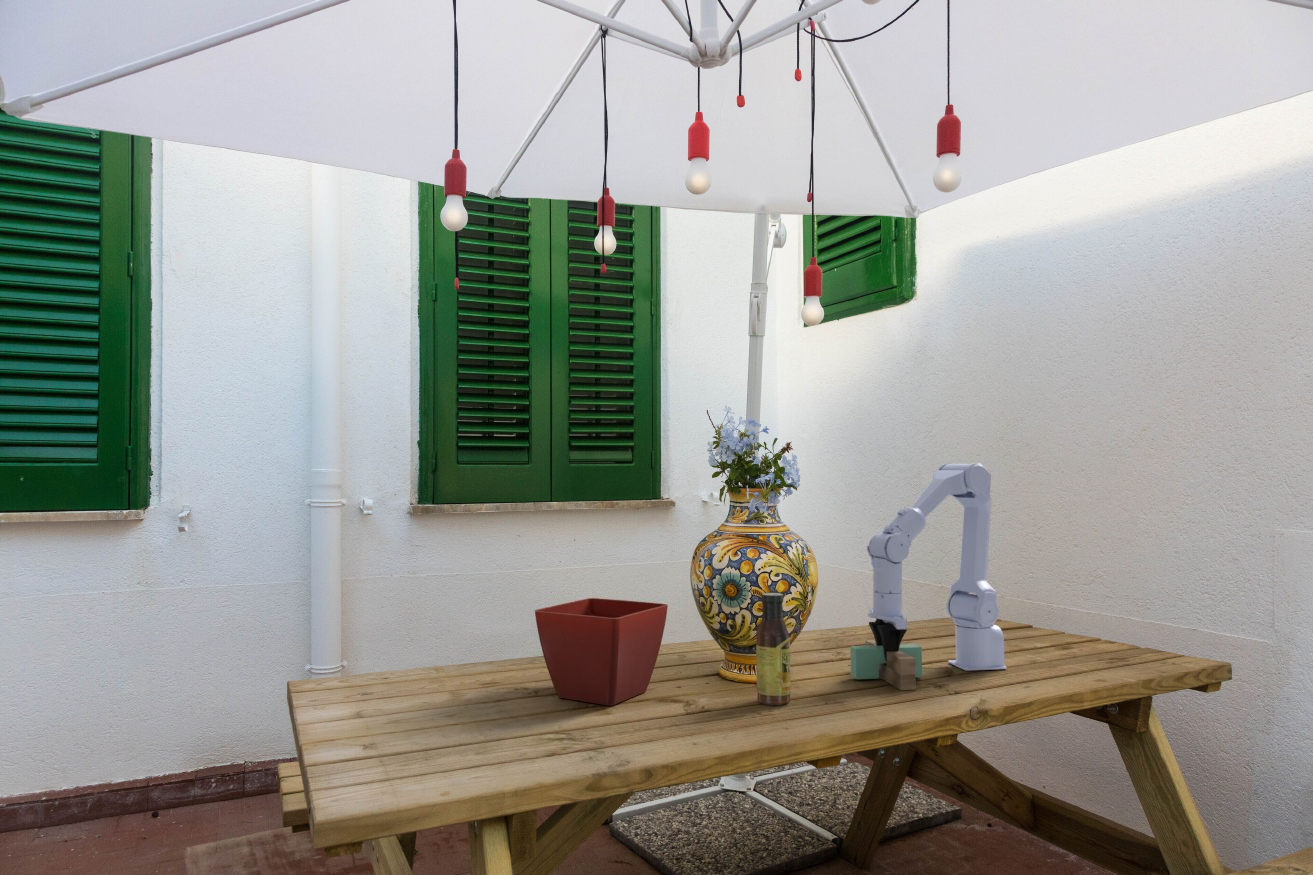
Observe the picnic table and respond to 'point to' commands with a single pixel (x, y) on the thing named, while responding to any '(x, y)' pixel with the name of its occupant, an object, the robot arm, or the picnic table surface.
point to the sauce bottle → (773, 653)
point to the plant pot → (601, 647)
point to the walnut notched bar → (897, 669)
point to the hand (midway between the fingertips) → (887, 658)
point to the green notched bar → (879, 660)
